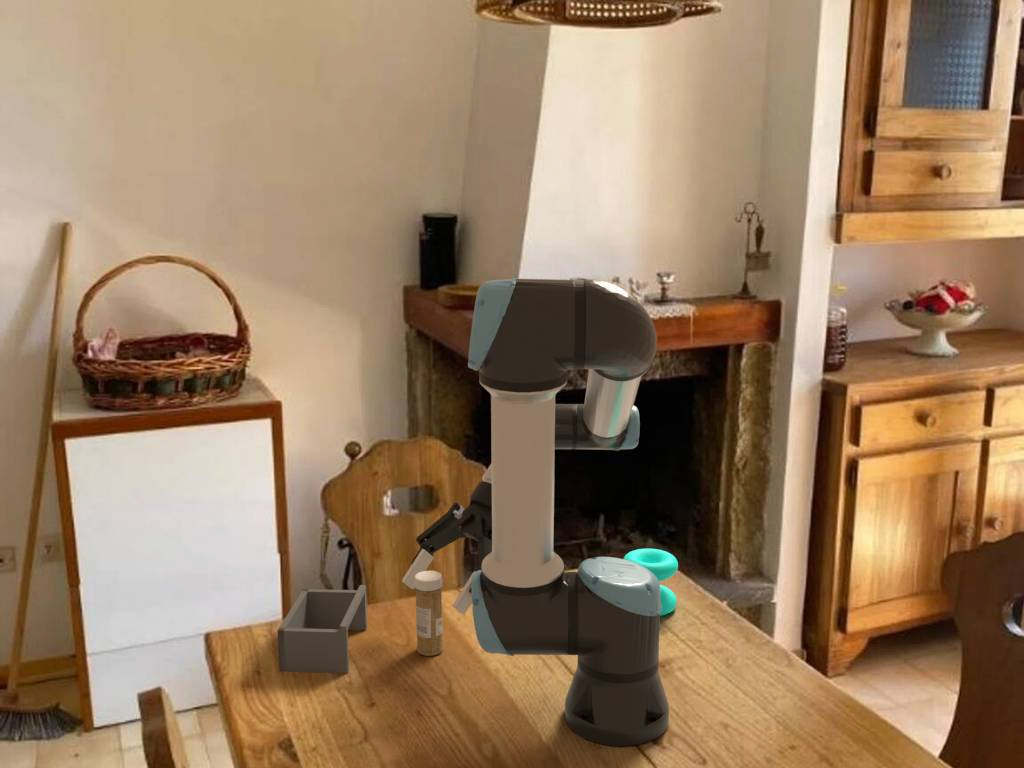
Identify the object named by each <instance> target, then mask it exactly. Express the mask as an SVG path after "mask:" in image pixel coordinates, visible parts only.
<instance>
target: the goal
mask: <svg viewBox="0 0 1024 768" xmlns="http://www.w3.org/2000/svg"><path fill="white" fill-rule="evenodd" d="M367 608H368V607H367V586H366V584H360V585H359V586H358V588H357V590H356V589H318V588H317V589H314V588H313V589H312V588H311V589H310V588H304V589H302V591H301V592H300V594H299V595H298V596H297V598H296V600H295V602H294V603H293V605H292V607H291V608H290V610H289V611H288V613H287V615H286V616H285V618H284V619H283V620H282V622H281V624H280V626H279V627H278V629H277V631H276V634H277V651H278V671H279V672H290V673H291V672H292V673H293V672H294V673H296V672H297V673H329V674H330V673H332V674H333V673H334V674H335V673H337V674H348V673H349V670H350V664H349V663H350V661H349V660H350V659H349V632H348V631H367V629H368V616H367V615H368V613H367V611H368V609H367Z"/></svg>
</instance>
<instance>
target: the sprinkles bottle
mask: <svg viewBox="0 0 1024 768" xmlns="http://www.w3.org/2000/svg"><path fill="white" fill-rule="evenodd" d="M443 584H444V583H443V575H442V573H440V572H438V571H436V570H426V571H422V572H419V573H417V574H416V575H415V588H414V590H415V619H416V620H415V621H416V623H415V625H416V641H417V643H416V644H417V645H416V651H417V653H418V654H420V655H421V656H427V657H431V656H438V655H439V654H441V653H442V652H443V651H444V641H443V635H444V634H443V631H444V626H443V600H442V597H443V596H442V587H443Z"/></svg>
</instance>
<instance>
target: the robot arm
mask: <svg viewBox="0 0 1024 768" xmlns="http://www.w3.org/2000/svg"><path fill="white" fill-rule="evenodd" d="M472 316H473V317H472V323H471V330H470V331H471V332H470V339H469V347H468V348H469V349H468V362H467V367H468V368H469V369H472V370H474V371H476V372H477V371H478V373H479V375H478V376H479V378H478V379H479V381H478V382H479V384H480V385H481V387H483V388H484V390H486V391H487V392H488V393H489V394H490V406H491V407H490V412H491V413H490V414H491V415H490V419H491V421H490V422H491V423H490V424H491V425H490V427H491V430H490V431H491V433H490V434H491V435H490V436H491V438H490V439H491V441H490V442H491V443H490V444H491V445H490V446H491V450H490V452H491V463H490V465H488V468H487V469H486V471H485V472H484V474H483V475H482V477H481V478H482V481H479V482H478V483H477V485H476V487H475V488H474V490H473V492H472V493H471V494H470V497H469V500H470V502H469V505H468V506H467V507H466V508H464V507H463V506H462V505H461V504H460V503H458V502H457V501H456V502H454V503H453V505H452V506H451V507H450V508H449V509H448V510H447V512H446V513H444V514H443V515H441V517H440V518H438V519H437V520H436V521H435V522H434V523H432V524H431V525H430V526H429V527H427V528H426V529H425V530H424V531H423V532H422V533H420V534H419V535H418V536H416V539H415V542H417V544H418V545H419V546H420V548H419V549H418V552H417V553H416V555H414V558H413V559H412V561H411V565H410V567H409V569H408V570H407V571H406V573H405V575H404V577H403V578H402V579H401V582H402V583H404V584H405V585H406V586H407V587H408V588H409V589H412V590H415V575H416V574H417V573H419V572H422V571H427V569H428V567H429V566H430V564H431V563H432V561H433V560H434V558H435V557H434V554H435V553H436V552H438V551H440V550H441V549H443V548H445V547H447V546H448V545H449V544H452V543H453V542H455V541H457V540H459V539H461V538H462V539H463V538H469V539H472V540H475V541H476V542H477V557H478V558H477V563H478V568H477V569H476V571H473V572H472V573H471V575H470V577H469V578H468V579H467V581H466V583H465V585H464V586H463V587H462V589H461V591H460V593H458V596H457V597H456V598H455V600H454V601H453V603H452V605H451V606H452V608H454V609H455V610H457V611H458V612H459V613H460V614H461V615H464V616H465V615H466V613H467V611H469V608H470V607H471V606H472V616H473V623H474V625H473V626H474V629H475V635H476V639H477V642H478V645H479V646H480V648H481V649H482V650H483V651H485V652H486V653H488V654H494V655H495V654H497V655H498V654H499V655H506V656H509V657H513V656H516V655H517V656H518V655H520V656H521V655H528V656H531V655H532V656H534V655H535V656H539V655H540V656H546V655H547V656H548V655H549V656H577V666H576V670H575V672H574V675H573V678H572V680H571V682H570V686H569V688H568V691H567V694H566V696H565V700H564V719H565V722H566V724H567V725H568V727H569V728H570V729H571V730H572V732H574V733H575V734H577V735H579V736H580V737H581V738H584V739H585V740H588V741H590V742H594V743H598V744H602V745H607V746H612V747H613V746H614V747H629V746H631V747H632V746H638V745H643V744H647V743H649V742H652V741H654V740H656V739H658V738H660V737H661V736H662V735H663V734H664V733H665V732H666V731H667V729H668V727H669V723H670V722H669V721H670V705H669V702H668V699H667V696H666V695H667V694H666V691H665V688H664V685H663V682H662V679H661V676H660V673H659V661H660V660H659V659H660V658H659V656H660V626H661V616H660V614H661V612H662V605H661V597H660V585H661V584H660V581H658V579H657V578H656V576H655V575H654V574H653V573H652V572H651V571H649V570H648V569H646V568H645V567H643V566H641V565H639V564H637V563H634V562H631V561H628V560H624V558H619V557H612V556H595V557H593V558H589V557H588V558H587V559H584V560H583V561H582V562H581V563H580V564H579V567H578V568H577V571H564V570H565V566H564V565H565V563H564V560H563V559H562V558H561V557H560V555H558V554H557V553H556V552H555V551H554V533H555V532H554V525H555V522H554V521H555V519H554V517H555V515H554V514H555V459H556V458H555V456H556V455H555V450H601V451H602V450H603V451H604V450H605V451H609V450H610V451H620V450H633V449H635V448H636V447H637V446H638V445H639V439H640V427H641V422H640V412H639V409H638V407H637V406H636V405H634V404H635V401H636V397H637V394H638V390H639V386H640V382H641V380H642V376H643V375H644V374H646V373H647V372H648V370H650V368H651V367H652V364H653V362H654V360H655V357H656V352H657V348H658V335H657V331H656V327H655V325H654V322H653V320H652V318H651V315H649V313H648V312H647V310H646V308H645V307H644V306H643V305H642V304H641V303H640V302H639V300H637V299H636V298H635V297H634V296H633V295H632V294H630V293H629V292H627V291H626V290H624V289H622V288H621V287H620V286H618V285H615V284H613V283H611V282H608V281H603V280H598V279H591V278H590V279H588V278H587V279H586V278H585V279H549V278H547V279H545V278H544V279H543V278H540V279H539V278H536V279H535V278H516V277H512V278H509V279H508V278H507V279H495V280H494V279H492V280H487V281H484V282H483V283H482V284H481V285H480V286H479V287H478V289H477V292H476V296H475V303H474V309H473V315H472ZM572 370H580V371H581V370H582V371H583V370H588V374H587V375H588V376H587V381H586V382H587V383H586V390H585V395H584V396H585V397H584V403H567V404H566V403H556V395H557V393H559V392H560V391H561V390H562V389H563V388H564V387H566V385H567V384H568V371H572Z"/></svg>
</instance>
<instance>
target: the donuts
mask: <svg viewBox="0 0 1024 768" xmlns="http://www.w3.org/2000/svg"><path fill="white" fill-rule="evenodd" d="M623 559H624V560H628V561H631V562H634V563H637V564H639V565H641V566H643V567H645V568H646V569H648V570H649V571H651V572H652V573H653V574H654V575H655V576H656V578H657V579H658V581H659V582H660V581H665V580H668V579H670V578H672V577H673V576H674V575H675V574H676V573H677V571H678V569H679V563H678V559H677V558H676V557H675V556H674V555H673V554H672V553H670V552H668V551H666V550H662V549H657V548H637V549H635V550H634V549H633V550H632V551H629V552H628V553H626V554H625V556H624V557H623ZM660 597H661V605H662V612H661V614H660V617H662V616H665V615H668V613H669V614H670V613H672V612H673V611H674V610H675V608H676V607H677V596H676V595H675V593H674V592H673V591H672V590H671V589H670V588H668V587H667V586H665V585H662V584H660Z"/></svg>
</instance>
